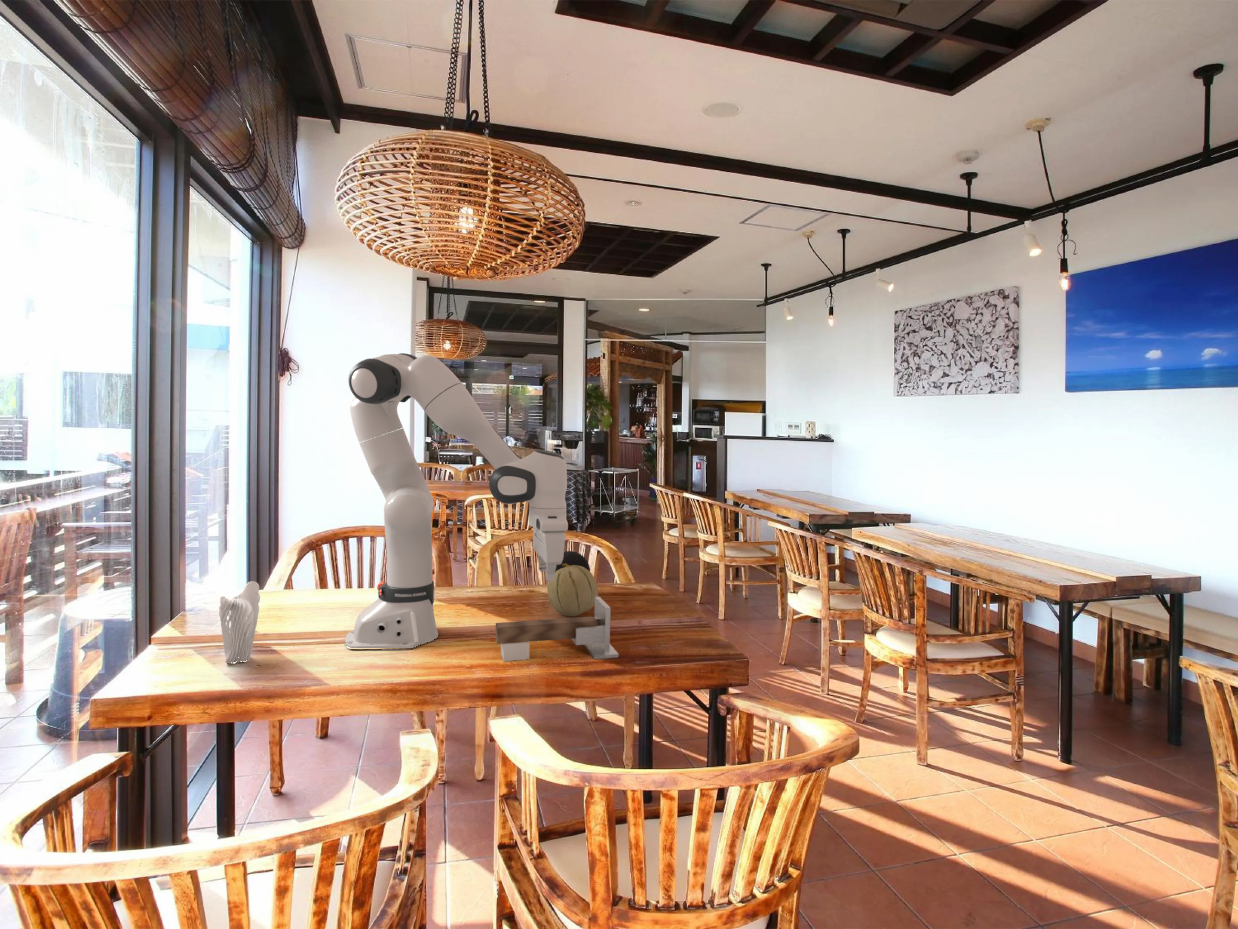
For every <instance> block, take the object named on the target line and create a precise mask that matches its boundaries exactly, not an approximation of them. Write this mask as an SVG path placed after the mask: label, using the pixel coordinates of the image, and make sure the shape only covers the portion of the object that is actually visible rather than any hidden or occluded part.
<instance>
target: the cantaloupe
mask: <svg viewBox="0 0 1238 929" xmlns="http://www.w3.org/2000/svg"><path fill="white" fill-rule="evenodd" d="M562 566H565V567H564V568H561V569H559V570H557V571H556V572H555V575H554V580H553V581H548V582H547V598H548V601H549V604H550V605H551V607H552V608H553V609H554V610H555V611H556V612H558V613H559V615H562V616H566V617H579V616H581V615H583V614H585V613H587V612H589V611H591V609H593V607H595V597H599V589H598V587H599V586H598V583H597V581H596V580H597V579H596V578H595V576H594V575H593V573H591V570H590V571H589V570H587V569H586V568H584V567H582V566H577V565H572V566H570V565H567V564H565V563H564V564H562Z"/></svg>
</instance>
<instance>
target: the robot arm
mask: <svg viewBox="0 0 1238 929" xmlns="http://www.w3.org/2000/svg"><path fill="white" fill-rule="evenodd" d="M348 386H349V389H350V392H351V393H352V395H353V396H354V397H355V398H354V399H352V400H351V403H350V405H349V406H350V407H349V410H350V411H349V412H350V416H351V420H352V425H353V428H354V432H355V435H356V438H357V441H358V442H359V446H360V448H361V451H362V453H363V455H364V458H365V461H366V463H367V465H368V469H369V470H370V473H371V475H372V476H373V478H374V480H375V481H376V483H377V485H378V487H379V489H380V490H381V493H382V494H383V496H384V499H385V503H384V507H383V517H384V518H383V521H384V523H383V524H384V536H385V546H386V547H385V550H386V582H383V581H380V582H378V583H377V585H376V586H377V587H376V589H377V591H378V592H377V596H378V597H377V600H375V601H374V602H373V603H371V604H370V605H369V606H367V607H366V608H364V609H363V610H362V611H361V612H360V613H359V614H358V616H357V618H356V620H355V624H354V629H353V630H351V631H350V632H348V633H347V634H346V636H345V638H344V645H345V644H346V646H348V647H350V648H413V647H415V648H417V647H419V646H421V645H424V644H427V642H428V643H430V642H433V641H435V640H436V639H437V638H439V636H438V635H439V631H438V628H437V624H436V618H435V612H434V603H435V585H434V584H435V582H434V580H433V543H432V541H433V539H432V536H433V535H432V514H433V512H434V505H435V503H434V502H435V501H434V498H433V495H432V492H431V490H430V488H429V486H428V483H427V481H426V478H425V476H424V474H423V472H422V470H421V468H420V465H419V464H418V462H417V460H416V457H415V455H414V452H413V450H412V447H411V445H410V442H409V440H408V436H407V434H406V431H405V429H404V427H403V424H402V421H401V419H400V417H399V414H398V413H399V412H398V406H399V403H406V402H408V400H409V399H411V398H413V399H414V400H415V401H416V402H417V403H418V405H419V407H421V409H422V410H423V411H424V413H425V414H426V415H427V417H429V419H431V421H432V422H433V423H434V424H435V425H437V427H439V428H440V429H441V430H443V432H445V433H447V434H450V435H453V436H456V437H459V438H461V439H463V440H465V441H467V442H468V443H471V445H473V446H474V447H476V449H477V450H478V451H479V452H480V453H481V454H482V456H484V458H485V459H486V460H487V461H488V462H489V464H490V465H491V466H492V468H494V469H495V470H494V471H493V472H492V473H491V475H490V476H489V481H488V487H489V488H488V489H489V492H490V493H491V494H490V495H492V497H493V498H494V499H495V500H496V501H498V502H499V503H502V504H506V505H515V504H518V503H523V502H524V503H525V502H527V503H528V506H529V507H528V526H529V527H532V528H533V530H532V531H533V532H532V548H533V550H534V551H535V552H536V554H537V561H538V570H539V571H540V572H543V573H545V580H546V581H548V582H549V581H553V580H554V575H555V570H556V565H560V564H561V563H562V561H563V556H564V552H565V543H566V532H568V530H569V529H568V528H569V523H568V520H567V501H566V494H567V489H568V473H567V470H568V469H567V464H566V462H567V461H566V460H565V458H564V457H563V456H562V455H561V454H560V453H557V452H555V451H550V450H543V449H537V450H534V451H532V453H530V454H529V455H526V456H524V457H523V458H522V457H521V456H519V455H518V454H516V453H515V451H513V449H512V448H511V447H510V446H509V445H508V444H507V442H506V441H505V439H503V437H502V436H501V435H500V434H499V433H498V431H496V430H495V428H494V427H493V426H492V425H491V424H490V422H489V420H488V419H487V418H486V416H485V415H484V413H483V412H482V410H481V409H480V406H479V405H478V403H477V402H476V400H475V398H473V396H472V395H471V394H470V392H469V389H467V387H466V386H465V385H464V384H463V383H462V382H461V380H460V379H459V378H458V377H457V376H456V375H455V374H454V372H453V371H451V369H450V368H449V367H448V366H446V365H445V364H444V362H442V361H441V360H440V359H438V358H437V357H436V356H433V355H428V354H427V355H422V356H419V357H418V356H416V355H412V354H409V353H402V352H401V353H388V354H383V355H380V356H377V357H372V358H366V359H363V360H360V361H358V363H356V364H355V365H354V366H353V367H352V368H351V369H350V371H349V373H348ZM351 632H352V633H351ZM353 632H354V633H353ZM434 639H435V640H434ZM420 644H421V645H420ZM418 645H419V646H418ZM346 646H345V647H346ZM416 646H417V647H416ZM413 649H414V648H413Z"/></svg>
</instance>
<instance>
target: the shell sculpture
mask: <svg viewBox="0 0 1238 929" xmlns="http://www.w3.org/2000/svg"><path fill="white" fill-rule="evenodd" d="M259 591H260V584H259V583H258V582H257V581H255V580H251V581H248V582H247V583H246V585H245V586H244V587H243V589H242V590H241V592H240V593H239V594H238V595H236V596H233V597H226V596H225V595H224V596H223V595H222V596H220V600H219V602H220V603H219V604H220V605H219V609H218V610H219V611H218V612H219V613H218V616H219V620H220V628H221V634H222V644H223V649H224V656H225V663H226V664H227V663H231V662H232V663H233V662H236V661H237V662H238V661H239V662H240V661H242V662H243V661H246V660H247V662H249V661H248V660H250V659H251V655H252V649H253V645H254V640H255V635H256V628H257V625H258V618H259V613H260V612H259V611H260V605H259V603H260V600H261V595H260V593H259ZM238 657H239V658H238Z"/></svg>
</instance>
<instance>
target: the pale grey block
mask: <svg viewBox="0 0 1238 929" xmlns="http://www.w3.org/2000/svg"><path fill="white" fill-rule="evenodd" d="M500 655H501V658H502V661H503V662H504V661H505V662H514V661H513V660H517V661H525V660H526V659H529V660H530V642H520V643H507V644H500ZM526 661H527V660H526Z"/></svg>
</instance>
